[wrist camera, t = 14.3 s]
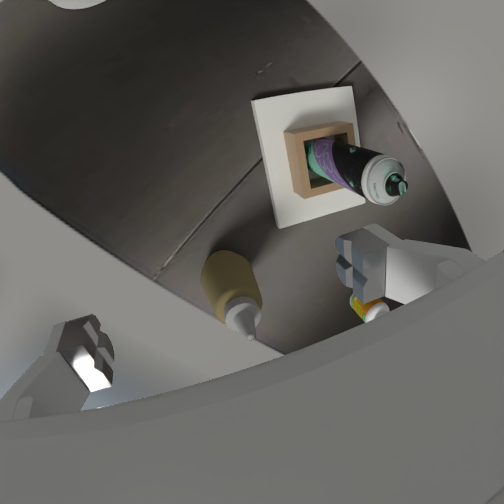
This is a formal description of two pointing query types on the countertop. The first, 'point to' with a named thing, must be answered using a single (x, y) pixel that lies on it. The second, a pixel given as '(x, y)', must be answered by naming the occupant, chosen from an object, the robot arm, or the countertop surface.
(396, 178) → the spray can
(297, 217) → the socket board
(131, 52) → the countertop surface
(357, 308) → the supplement bottle
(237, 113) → the countertop surface
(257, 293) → the squeeze bottle
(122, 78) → the countertop surface
